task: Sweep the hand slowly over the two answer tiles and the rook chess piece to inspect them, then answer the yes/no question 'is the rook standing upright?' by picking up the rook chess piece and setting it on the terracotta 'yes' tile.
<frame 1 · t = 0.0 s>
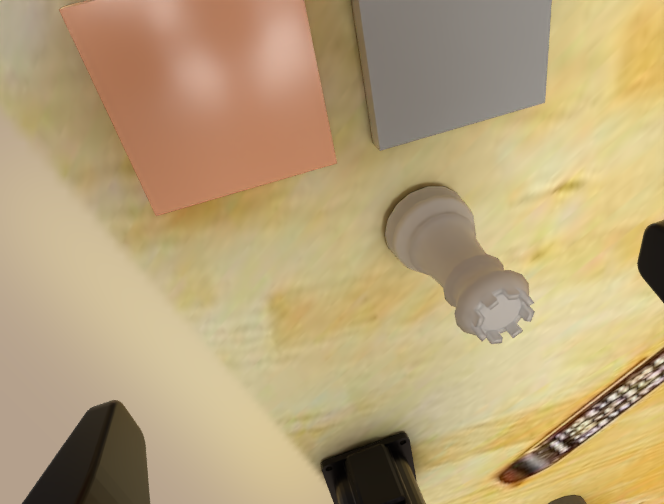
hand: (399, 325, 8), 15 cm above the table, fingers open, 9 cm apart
answer tiles: (336, 58, 20), on the table
rook chess piece: (420, 219, 25), on the table
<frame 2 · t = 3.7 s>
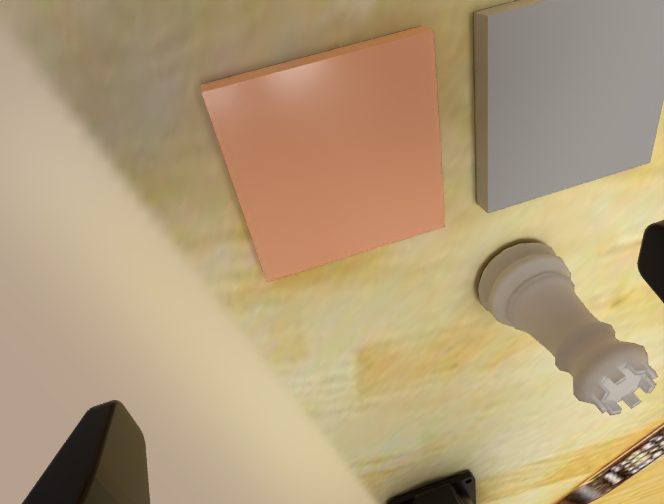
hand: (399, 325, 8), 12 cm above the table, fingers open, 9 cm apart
answer tiles: (452, 125, 20), on the table
rook chess piece: (511, 272, 25), on the table
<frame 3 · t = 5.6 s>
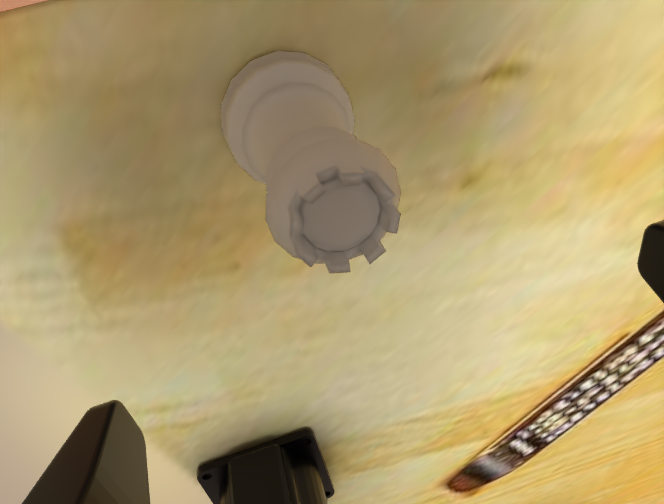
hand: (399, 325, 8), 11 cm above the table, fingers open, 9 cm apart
rook chess piece: (283, 113, 17), on the table
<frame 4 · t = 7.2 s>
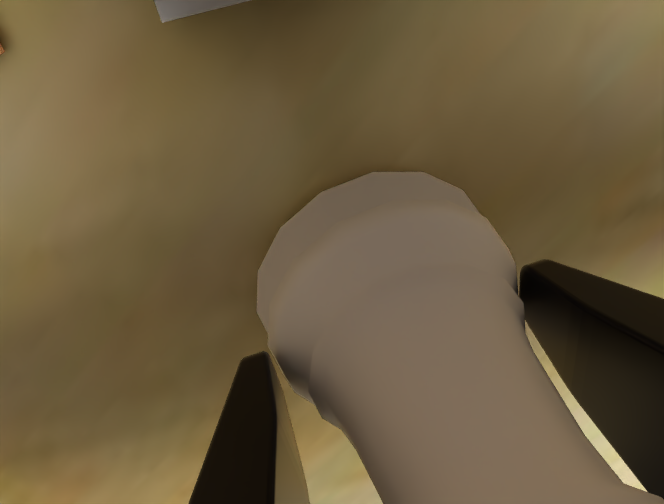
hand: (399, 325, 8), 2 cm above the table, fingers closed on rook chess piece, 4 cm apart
rook chess piece: (366, 263, 9), on the table, touching gripper
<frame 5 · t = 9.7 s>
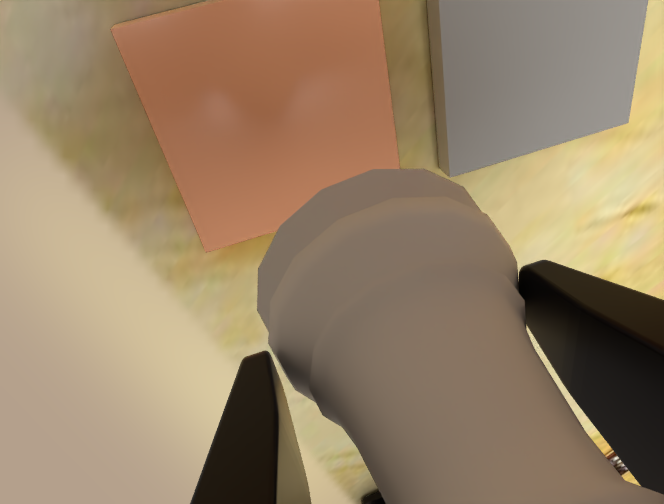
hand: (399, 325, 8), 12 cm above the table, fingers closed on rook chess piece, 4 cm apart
answer tiles: (406, 78, 18), on the table
rook chess piece: (366, 260, 9), point 10 cm above the table, touching gripper
when the fingers open (4 cm above the table, at t = 11.8 s): rook chess piece drops 1 cm, resting on answer tiles.
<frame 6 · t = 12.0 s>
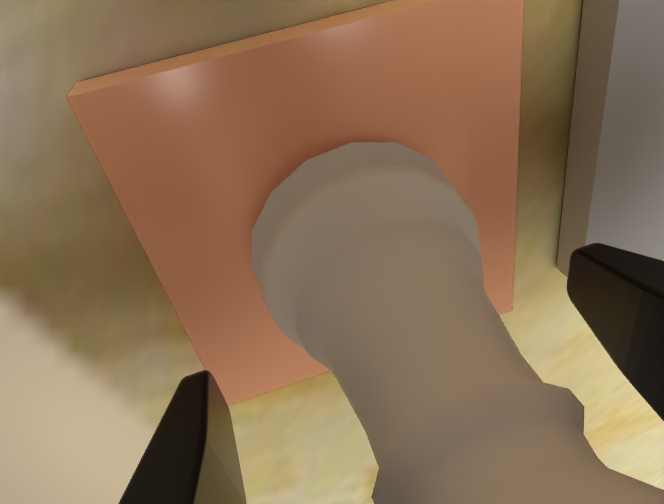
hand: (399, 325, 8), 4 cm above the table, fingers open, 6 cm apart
answer tiles: (531, 150, 12), on the table
rook chess piece: (349, 227, 11), point 1 cm above the table, touching answer tiles
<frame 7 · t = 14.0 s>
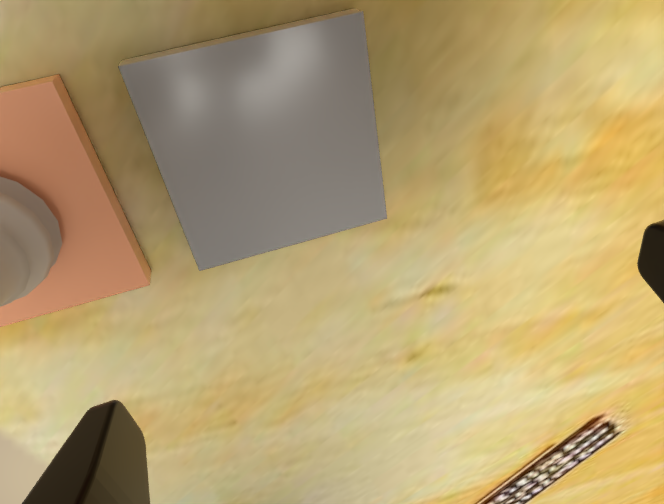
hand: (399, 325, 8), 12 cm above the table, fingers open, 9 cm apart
answer tiles: (138, 178, 18), on the table
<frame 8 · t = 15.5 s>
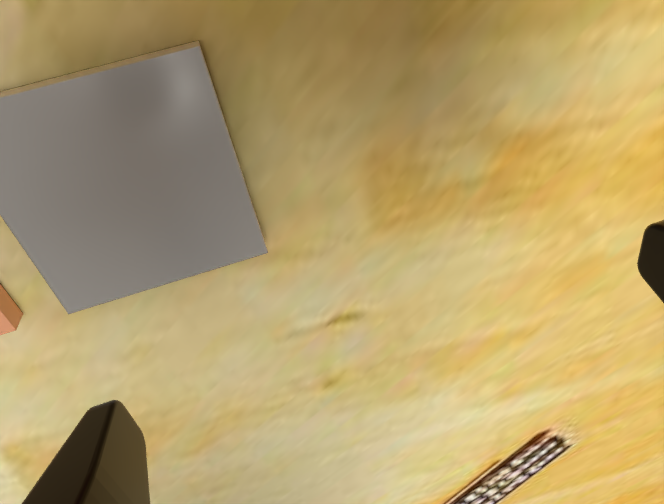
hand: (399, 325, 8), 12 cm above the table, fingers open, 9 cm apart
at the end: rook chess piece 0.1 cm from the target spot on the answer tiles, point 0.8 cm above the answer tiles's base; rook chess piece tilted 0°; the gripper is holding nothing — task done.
